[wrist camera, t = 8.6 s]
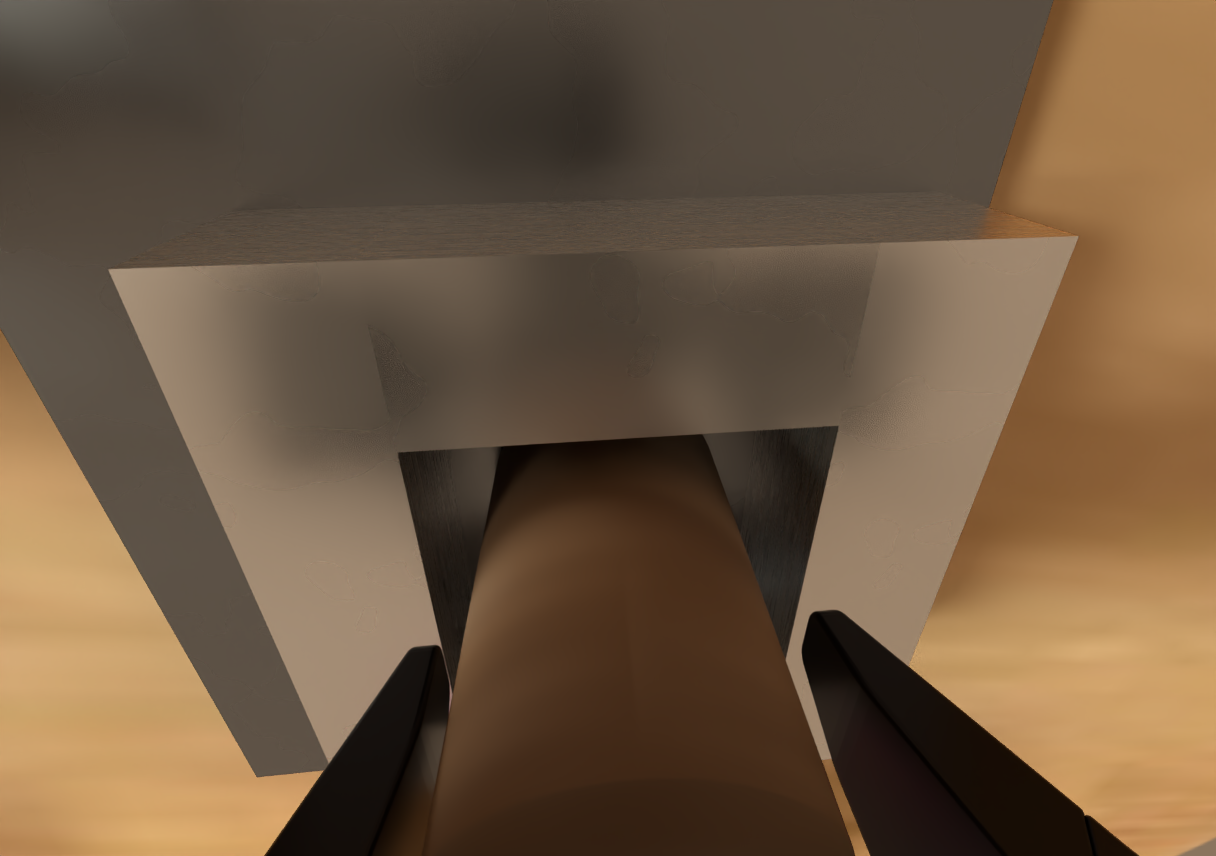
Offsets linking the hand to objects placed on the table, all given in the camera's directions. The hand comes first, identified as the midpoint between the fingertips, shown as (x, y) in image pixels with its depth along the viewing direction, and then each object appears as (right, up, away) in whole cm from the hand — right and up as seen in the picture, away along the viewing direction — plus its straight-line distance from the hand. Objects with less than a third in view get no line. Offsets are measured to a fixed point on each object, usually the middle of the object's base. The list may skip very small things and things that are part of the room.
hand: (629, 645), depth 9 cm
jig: (-2, +2, +4) cm, 5 cm away
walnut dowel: (0, +2, +3) cm, 4 cm away
